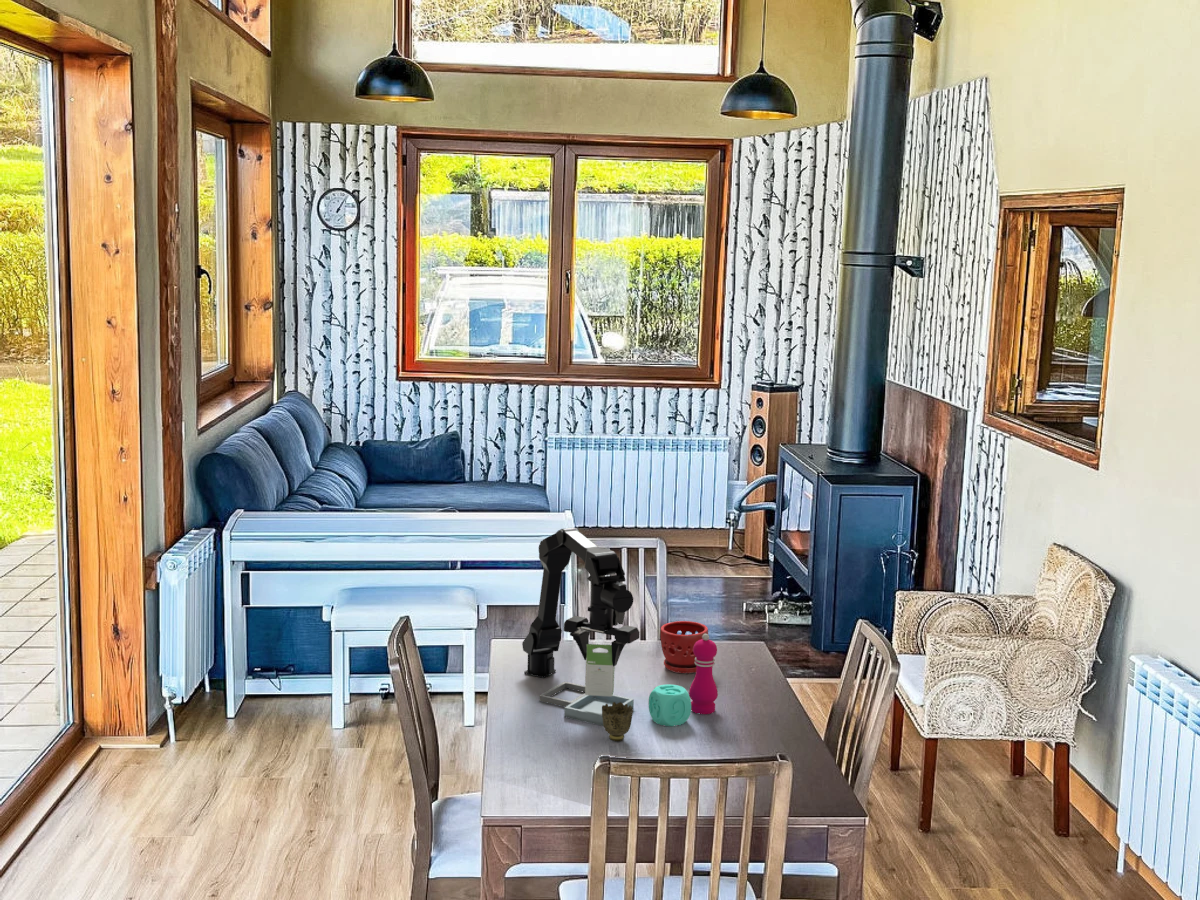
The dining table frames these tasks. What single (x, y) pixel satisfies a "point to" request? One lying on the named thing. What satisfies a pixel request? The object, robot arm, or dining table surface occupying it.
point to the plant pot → (681, 645)
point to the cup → (617, 720)
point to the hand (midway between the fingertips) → (600, 662)
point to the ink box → (599, 671)
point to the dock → (546, 696)
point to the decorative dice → (669, 705)
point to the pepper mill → (704, 677)
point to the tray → (593, 707)
